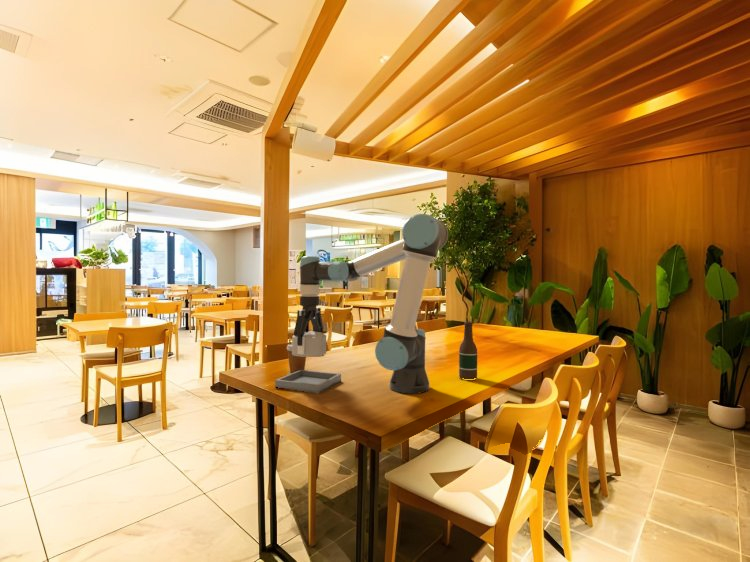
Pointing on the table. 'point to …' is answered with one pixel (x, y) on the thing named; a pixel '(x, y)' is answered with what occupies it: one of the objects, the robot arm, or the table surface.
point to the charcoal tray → (308, 381)
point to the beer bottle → (468, 354)
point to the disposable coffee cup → (295, 361)
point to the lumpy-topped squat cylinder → (311, 344)
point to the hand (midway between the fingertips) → (309, 351)
